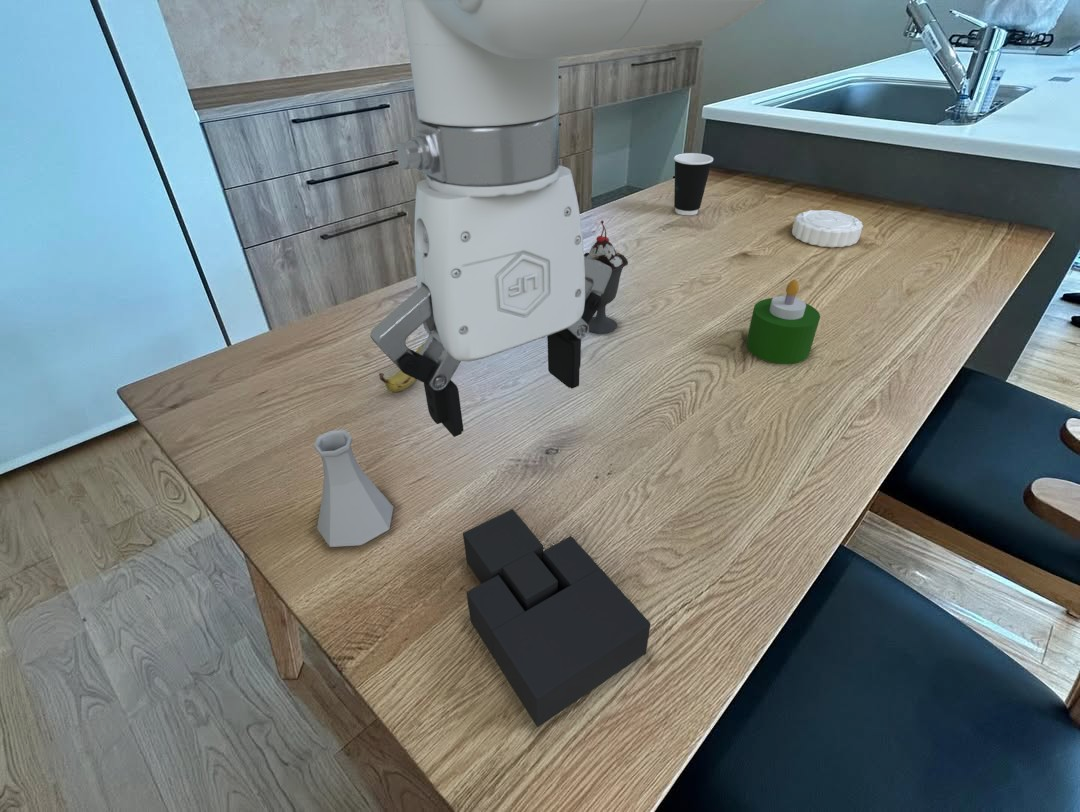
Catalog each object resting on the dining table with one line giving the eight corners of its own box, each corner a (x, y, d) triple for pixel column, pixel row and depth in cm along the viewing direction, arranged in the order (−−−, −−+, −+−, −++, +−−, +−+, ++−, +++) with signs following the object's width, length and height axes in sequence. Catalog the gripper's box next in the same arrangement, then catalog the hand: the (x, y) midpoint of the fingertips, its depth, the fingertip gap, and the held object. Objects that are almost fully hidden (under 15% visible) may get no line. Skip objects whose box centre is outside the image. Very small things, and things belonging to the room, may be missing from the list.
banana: (431, 361, 79) (427, 335, 77) (444, 366, 78) (441, 340, 76) (377, 399, 73) (371, 372, 70) (392, 404, 72) (386, 377, 69)
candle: (792, 371, 76) (812, 301, 70) (734, 348, 81) (749, 281, 75) (819, 346, 81) (840, 279, 75) (763, 326, 85) (778, 261, 79)
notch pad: (470, 621, 48) (465, 591, 45) (570, 565, 52) (571, 535, 49) (537, 728, 41) (536, 699, 38) (646, 653, 45) (651, 623, 43)
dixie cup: (713, 213, 125) (721, 158, 118) (685, 220, 122) (692, 165, 115) (687, 203, 130) (694, 150, 124) (660, 210, 127) (665, 156, 121)
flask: (401, 535, 55) (381, 455, 49) (321, 559, 53) (291, 479, 47) (387, 485, 60) (368, 407, 54) (314, 505, 58) (286, 427, 52)
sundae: (600, 310, 90) (604, 213, 81) (632, 326, 86) (640, 225, 77) (568, 324, 87) (569, 224, 78) (600, 341, 83) (605, 238, 74)
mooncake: (848, 226, 117) (854, 208, 115) (866, 249, 108) (872, 230, 105) (786, 224, 119) (790, 206, 117) (798, 246, 109) (803, 228, 107)
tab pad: (466, 562, 52) (462, 532, 50) (514, 538, 54) (512, 508, 52) (516, 635, 46) (514, 605, 44) (568, 605, 49) (568, 574, 46)
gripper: (364, 196, 26) (420, 478, 36) (654, 139, 34) (634, 385, 44) (315, 163, 31) (376, 418, 41) (576, 120, 39) (574, 345, 49)
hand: (509, 401), depth 43 cm, fingers open, 9 cm apart
